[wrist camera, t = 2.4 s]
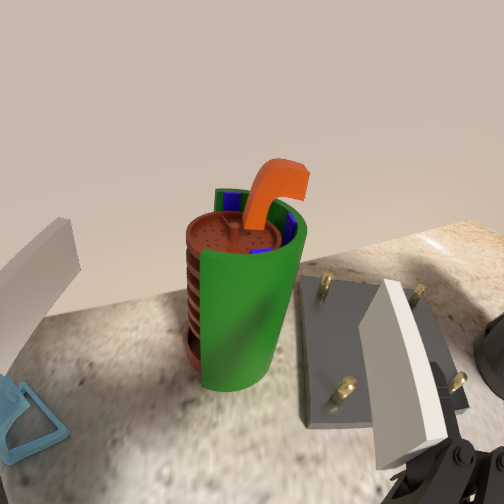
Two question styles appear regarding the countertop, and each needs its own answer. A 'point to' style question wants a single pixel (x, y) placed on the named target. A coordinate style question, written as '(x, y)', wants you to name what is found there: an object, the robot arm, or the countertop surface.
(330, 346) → the plate
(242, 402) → the countertop surface
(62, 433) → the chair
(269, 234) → the motor
